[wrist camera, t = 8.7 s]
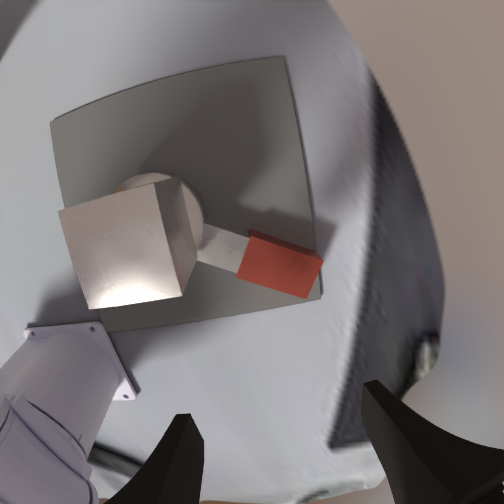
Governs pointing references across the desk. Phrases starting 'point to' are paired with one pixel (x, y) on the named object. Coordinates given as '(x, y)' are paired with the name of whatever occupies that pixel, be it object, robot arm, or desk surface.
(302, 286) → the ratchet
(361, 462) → the desk surface
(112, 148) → the mat
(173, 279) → the pale grey cube
